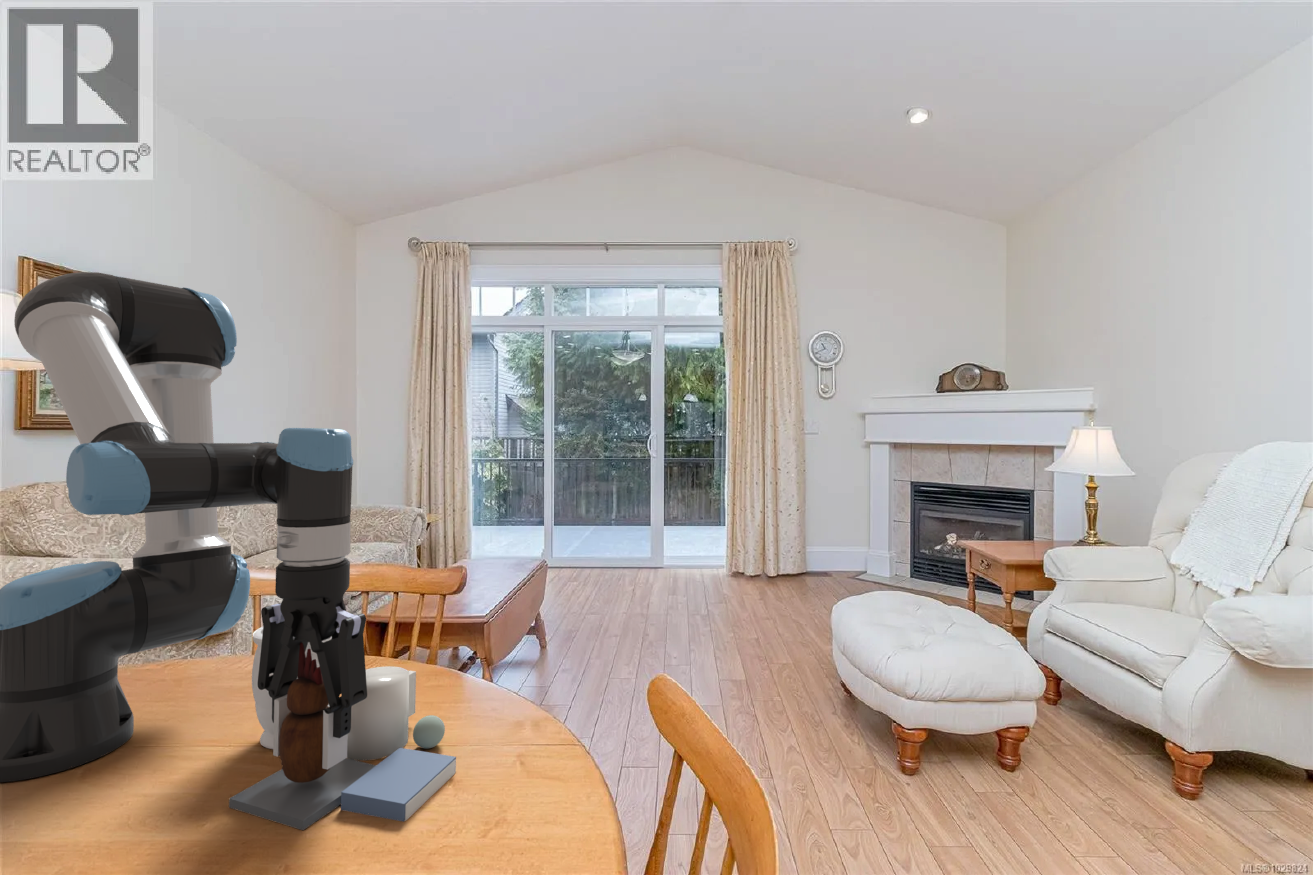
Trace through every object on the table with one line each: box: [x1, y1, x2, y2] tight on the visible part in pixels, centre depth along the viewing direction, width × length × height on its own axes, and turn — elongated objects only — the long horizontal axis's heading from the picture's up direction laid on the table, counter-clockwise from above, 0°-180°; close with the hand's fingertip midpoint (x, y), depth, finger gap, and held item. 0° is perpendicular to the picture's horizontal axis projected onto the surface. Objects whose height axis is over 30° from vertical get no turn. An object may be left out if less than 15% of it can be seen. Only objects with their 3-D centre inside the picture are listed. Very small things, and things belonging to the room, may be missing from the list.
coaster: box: [228, 758, 377, 831], centre depth 70 cm, size 11×11×1 cm
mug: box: [347, 665, 417, 762], centre depth 82 cm, size 8×11×9 cm
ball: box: [412, 715, 446, 750], centre depth 80 cm, size 4×4×4 cm
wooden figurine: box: [279, 642, 330, 783], centre depth 69 cm, size 7×6×15 cm
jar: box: [251, 626, 332, 750], centre depth 82 cm, size 11×10×15 cm
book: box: [340, 747, 457, 823], centre depth 70 cm, size 8×10×2 cm
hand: (310, 756), depth 70 cm, fingers closed on wooden figurine, 7 cm apart
